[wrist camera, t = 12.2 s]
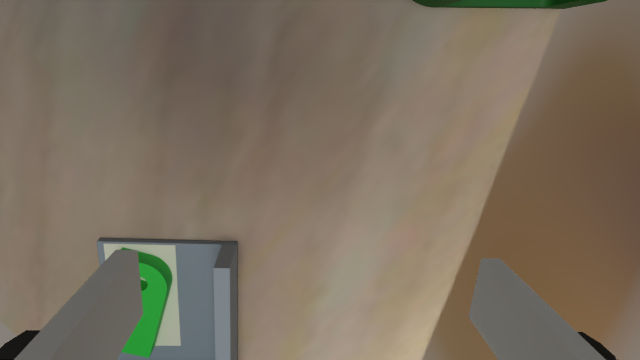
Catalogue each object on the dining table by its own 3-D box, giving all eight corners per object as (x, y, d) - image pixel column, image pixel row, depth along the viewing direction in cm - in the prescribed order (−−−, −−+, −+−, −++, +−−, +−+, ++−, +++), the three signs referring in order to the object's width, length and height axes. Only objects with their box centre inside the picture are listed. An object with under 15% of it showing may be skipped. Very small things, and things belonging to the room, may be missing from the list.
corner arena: (100, 238, 41) (71, 265, 36) (237, 241, 43) (229, 268, 37) (116, 367, 47) (92, 408, 41) (237, 367, 48) (230, 407, 43)
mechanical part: (155, 345, 45) (127, 403, 38) (103, 334, 44) (64, 391, 37) (177, 261, 42) (152, 305, 34) (122, 247, 41) (84, 289, 33)
